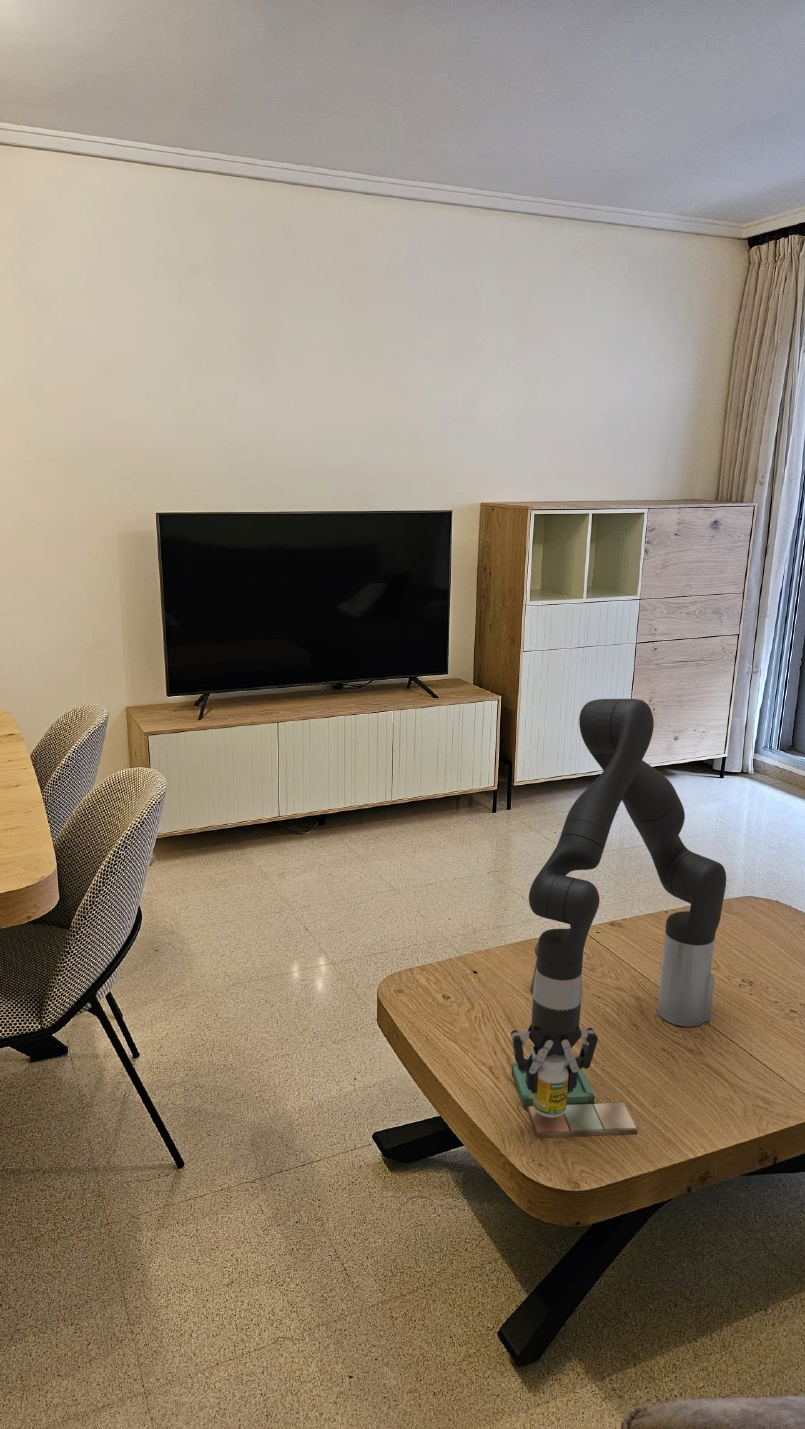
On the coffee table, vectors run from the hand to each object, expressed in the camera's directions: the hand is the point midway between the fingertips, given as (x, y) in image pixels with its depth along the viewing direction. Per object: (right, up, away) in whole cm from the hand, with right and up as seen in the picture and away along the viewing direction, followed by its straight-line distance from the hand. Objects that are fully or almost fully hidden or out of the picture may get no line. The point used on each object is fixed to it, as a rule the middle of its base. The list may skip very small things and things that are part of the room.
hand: (550, 1089), depth 159 cm
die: (+2, -3, +10) cm, 11 cm away
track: (+5, -6, +2) cm, 8 cm away
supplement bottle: (0, -4, +1) cm, 4 cm away
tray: (+2, -4, +10) cm, 11 cm away
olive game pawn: (+5, +4, +42) cm, 42 cm away
